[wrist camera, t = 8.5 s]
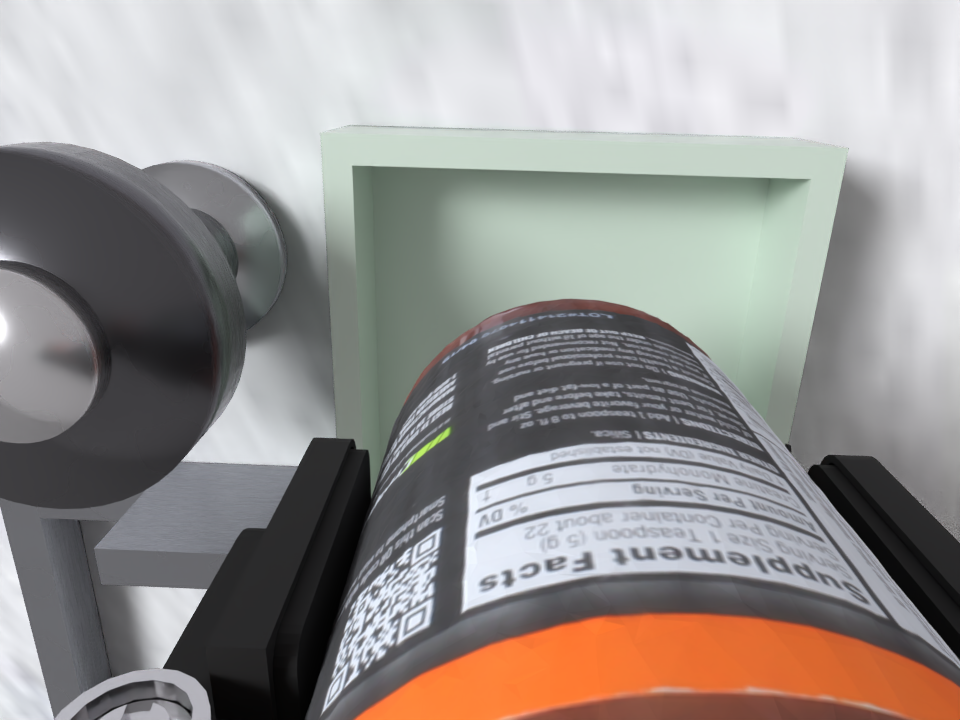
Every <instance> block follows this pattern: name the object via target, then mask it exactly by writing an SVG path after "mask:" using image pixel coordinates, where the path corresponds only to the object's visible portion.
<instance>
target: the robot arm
mask: <svg viewBox="0 0 960 720" xmlns="http://www.w3.org/2000/svg"><path fill="white" fill-rule="evenodd" d="M808 475H809V477H810V478H811V479H812V480H813V482H814V483H815V484H816V485H817V486H818V487H819V488H820V489H821V491H822V492H823V493H824V494H825V496H826V497H827V499H828V500H829V501H830V503H831V504H832V505H833V506H834V507H835V509H836V510H837V511H838V512H839V514H840V515H841V516H842V517H843V518H844V520H845V521H846V522H847V523H848V524H849V525H850V526H851V528H852V529H853V530H854V531H855V532H856V534H857V535H858V536H859V537H860V539H861V540H862V541H863V542H864V543H865V545H866V546H867V547H868V548H869V550H870V551H871V552H872V553H873V554H874V556H875V557H876V558H877V559H878V561H879V562H880V563H881V565H882V566H883V567H884V569H885V570H886V571H887V573H888V574H889V576H890V577H891V578H892V579H893V581H894V582H895V583H896V584H897V585H898V586H899V588H900V589H901V590H902V591H903V592H904V594H905V595H906V596H907V597H908V598H909V599H910V601H911V602H912V603H913V604H914V606H915V607H916V608H917V609H918V611H919V612H920V613H921V614H922V615H923V617H924V618H925V619H926V620H927V622H928V623H929V624H930V625H931V626H932V627H933V629H934V630H935V631H936V632H937V633H938V634H939V636H940V637H941V638H942V639H943V640H944V642H945V643H946V644H947V645H948V647H949V648H950V649H951V650H952V652H953V653H954V654H955V655H956V656H957V657H958V658H959V659H960V543H959V542H958V541H957V540H956V539H955V538H954V537H953V536H952V535H951V534H950V533H949V532H948V531H947V530H946V529H945V528H944V527H943V526H942V525H941V524H940V523H939V522H938V521H937V520H936V519H935V518H934V517H933V516H932V515H931V514H930V513H929V512H928V511H927V510H926V509H925V508H924V507H923V506H922V505H921V504H920V503H919V502H918V501H917V500H916V499H915V498H914V497H913V496H912V495H911V494H910V493H909V492H908V491H907V490H906V489H905V488H904V487H903V486H902V485H901V484H900V483H899V482H898V481H897V480H896V479H895V478H894V477H893V476H892V475H891V474H890V473H889V472H888V471H887V470H886V469H885V468H884V467H883V466H882V465H881V464H880V463H879V462H878V461H877V460H876V459H875V458H873V457H871V456H845V455H828V456H826V457H824V459H823V460H822V462H821V464H820V465H813V466H811V468H810V469H809V471H808ZM370 502H371V478H370V456H369V451H368V450H366V449H356V444H355V441H354V439H339V438H313V440H312V441H311V443H310V445H309V447H308V449H307V451H306V452H305V454H304V456H303V458H302V460H301V462H300V464H299V466H298V468H297V470H296V472H295V474H294V476H293V478H292V480H291V481H290V483H289V485H288V487H287V489H286V491H285V493H284V495H283V497H282V499H281V501H280V503H279V505H278V507H277V509H276V511H275V512H274V514H273V516H272V518H271V520H270V522H269V524H268V526H267V528H246V529H244V530H243V531H242V532H241V533H240V534H239V536H238V537H237V539H236V541H235V542H234V544H233V546H232V548H231V549H230V551H229V553H228V555H227V556H226V558H225V560H224V562H223V563H222V565H221V567H220V569H219V570H218V572H217V574H216V576H215V577H214V579H213V581H212V583H211V584H210V586H209V588H208V590H207V591H206V593H205V595H204V597H203V599H202V600H201V602H200V604H199V606H198V607H197V609H196V611H195V613H194V614H193V616H192V618H191V620H190V621H189V623H188V625H187V627H186V628H185V630H184V632H183V634H182V635H181V637H180V639H179V641H178V642H177V644H176V646H175V648H174V649H173V651H172V653H171V655H170V656H169V658H168V660H167V662H166V663H165V665H164V667H163V669H160V668H154V669H146V670H138V671H131V672H128V673H125V674H122V675H119V676H116V677H113V678H110V679H107V680H105V681H104V682H102V683H100V684H98V685H96V686H94V687H93V688H91V689H89V690H87V691H85V692H83V693H82V694H81V695H80V696H78V697H77V698H76V699H75V700H73V701H72V702H71V703H70V704H68V705H67V706H66V707H65V708H64V709H62V710H61V712H60V713H59V714H58V715H57V716H56V718H55V719H54V720H305V716H306V713H307V710H308V708H309V705H310V703H311V698H312V695H313V692H314V689H315V686H316V683H317V680H318V676H319V673H320V669H321V666H322V662H323V658H324V654H325V650H326V646H327V643H328V639H329V637H330V635H331V630H332V626H333V622H334V620H335V617H336V615H337V612H338V607H339V603H340V599H341V596H342V593H343V590H344V587H345V584H346V580H347V576H348V573H349V570H350V567H351V564H352V561H353V558H354V554H355V551H356V547H357V544H358V541H359V537H360V533H361V530H362V526H363V523H364V519H365V516H366V513H367V511H368V508H369V506H370Z"/></svg>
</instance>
